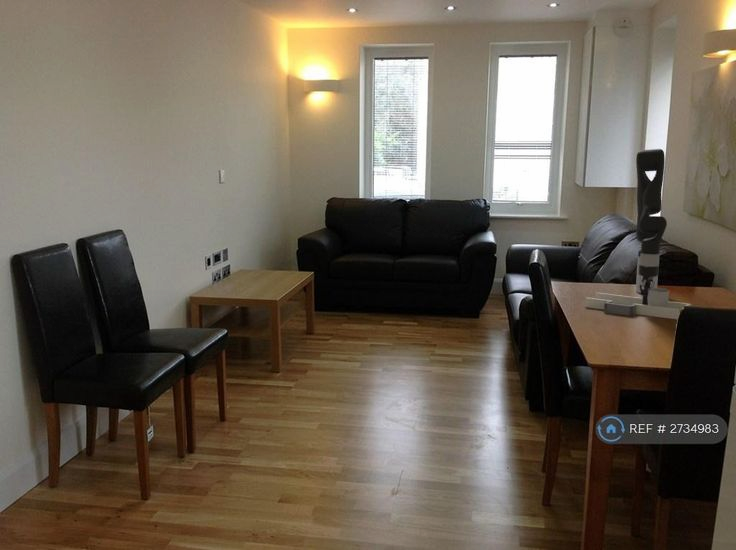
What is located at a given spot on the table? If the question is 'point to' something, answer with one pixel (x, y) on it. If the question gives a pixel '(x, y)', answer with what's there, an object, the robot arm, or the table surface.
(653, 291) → the cup
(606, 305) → the box
